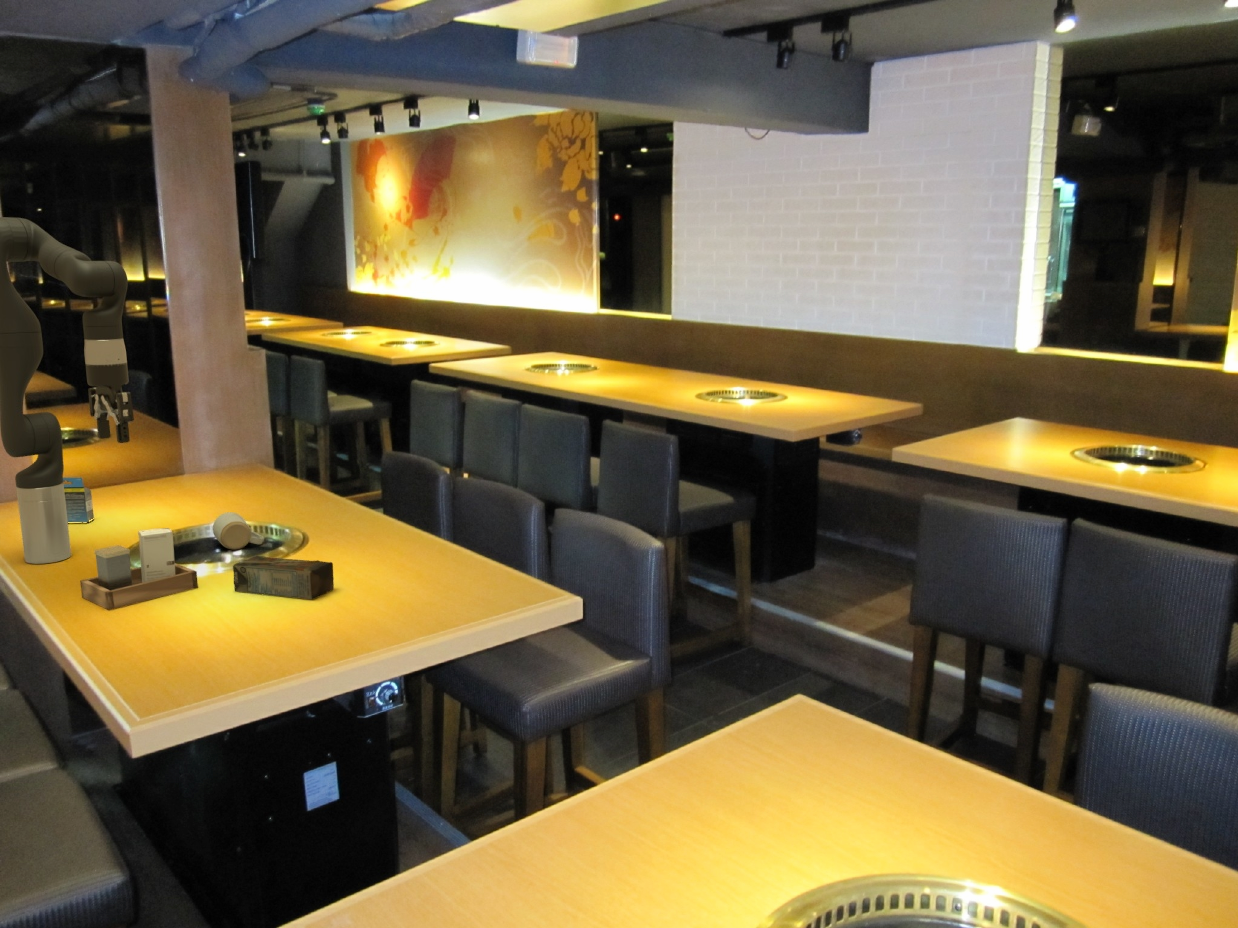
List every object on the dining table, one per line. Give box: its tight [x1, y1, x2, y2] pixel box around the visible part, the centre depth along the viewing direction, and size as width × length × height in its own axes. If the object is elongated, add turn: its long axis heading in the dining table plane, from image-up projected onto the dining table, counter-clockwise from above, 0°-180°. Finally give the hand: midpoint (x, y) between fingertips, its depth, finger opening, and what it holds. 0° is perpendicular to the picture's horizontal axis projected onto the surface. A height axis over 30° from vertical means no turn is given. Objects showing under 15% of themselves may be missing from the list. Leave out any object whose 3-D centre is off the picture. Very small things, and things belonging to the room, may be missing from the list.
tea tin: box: [94, 544, 132, 590], centre depth 199 cm, size 5×5×10 cm
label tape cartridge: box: [63, 476, 95, 522], centre depth 258 cm, size 9×4×12 cm, turn 92°
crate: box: [79, 563, 199, 611], centre depth 203 cm, size 12×18×4 cm, turn 141°
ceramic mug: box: [212, 511, 265, 551], centre depth 237 cm, size 11×8×8 cm
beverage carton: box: [232, 555, 335, 601], centre depth 205 cm, size 8×19×7 cm, turn 73°
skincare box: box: [138, 527, 175, 583], centre depth 205 cm, size 6×4×12 cm
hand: (113, 440), depth 205 cm, fingers open, 8 cm apart
